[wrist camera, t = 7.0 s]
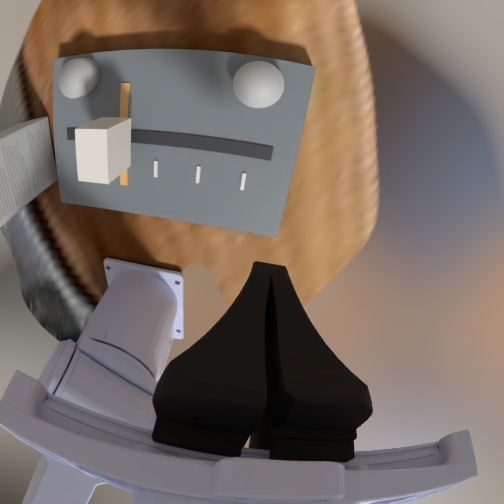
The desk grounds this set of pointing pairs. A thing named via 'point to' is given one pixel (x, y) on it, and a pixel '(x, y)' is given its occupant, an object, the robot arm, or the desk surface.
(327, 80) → the desk surface
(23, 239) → the desk surface
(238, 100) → the console
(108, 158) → the fader tab
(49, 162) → the skincare box
